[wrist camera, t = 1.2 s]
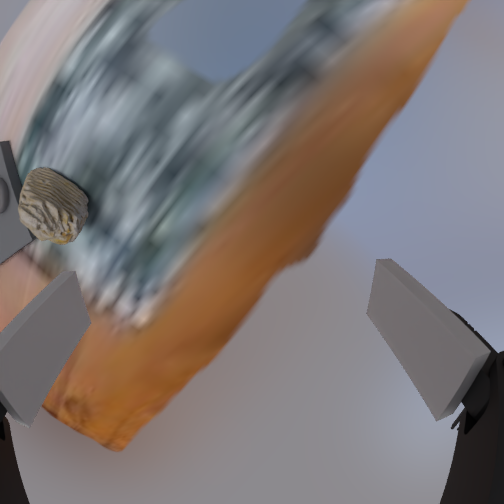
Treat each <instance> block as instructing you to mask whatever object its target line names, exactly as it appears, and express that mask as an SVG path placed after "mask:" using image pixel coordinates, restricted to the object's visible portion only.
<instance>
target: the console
mask: <svg viewBox="0 0 504 504" xmlns="http://www.w3.org/2000/svg"><path fill="white" fill-rule="evenodd" d="M21 190H22V185H21V182H20V179H19V176H18V173H17V169H16V166H15V163H14V159H13V155H12V152H11V148H10V144H9V141H2V142H0V264H1V263H3V262H4V261H5V260H7V259H8V258H9V257H11V256H12V255H13V254H15V253H16V252H17V251H19V250H20V249H22V248H23V247H24V246H26V245H27V244H29V243H30V242H32V241H33V240H34V239H36V238H37V237H36V236H35V235H34V234H33V233H32V232H31V231H30V229H29V228H27V227H26V226H25V225H24V224H23V223H22V222H21V221H20V219H19V218H20V216H19V212H18V207H19V200H20V193H21Z"/></svg>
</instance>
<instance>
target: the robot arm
mask: <svg viewBox="0 0 504 504" xmlns="http://www.w3.org/2000/svg"><path fill="white" fill-rule="evenodd" d="M367 315H368V316H369V318H370V319H371V321H372V322H373V324H374V325H375V326H376V328H377V329H378V331H379V332H380V334H381V335H382V336H383V338H384V339H385V341H386V342H387V344H388V345H389V347H390V348H391V350H392V351H393V353H394V354H395V356H396V357H397V359H398V360H399V361H400V363H401V365H402V366H403V368H404V369H405V371H406V373H407V374H408V376H409V377H410V379H411V380H412V382H413V383H414V385H415V387H416V388H417V390H418V392H419V393H420V394H421V396H422V398H423V400H424V401H425V403H426V404H427V406H428V407H429V409H430V411H431V413H432V414H433V416H434V418H435V419H436V421H438V420H441V419H443V418H445V417H447V416H449V415H451V414H453V413H454V411H455V410H456V409H457V407H458V406H459V404H460V403H461V402H462V403H463V405H464V406H465V408H464V409H463V411H462V412H461V413H460V415H459V416H458V418H457V419H456V420H455V421H454V423H453V424H452V427H451V429H454V427H455V426H456V425H457V424H458V422H460V424H459V427H458V429H457V430H458V436H457V442H456V446H455V451H454V456H453V461H452V464H451V468H450V473H449V476H448V479H447V483H446V486H445V489H444V492H443V496H442V498H441V501H440V504H504V351H502V352H500V353H497V352H496V351H495V350H494V349H493V348H492V347H491V345H490V344H489V343H488V342H487V341H486V340H485V339H484V338H483V337H482V336H481V335H480V334H479V333H478V332H477V331H474V328H473V327H471V325H470V324H468V323H467V321H465V320H464V319H463V318H462V317H461V316H460V315H459V314H457V313H455V312H454V311H452V310H450V309H448V308H447V307H446V306H445V305H444V304H443V303H441V302H440V301H439V300H438V299H437V298H436V297H435V296H434V295H433V294H432V293H430V292H429V291H428V290H427V289H426V288H425V287H424V286H423V285H421V284H420V283H419V282H418V281H417V280H416V279H415V278H413V277H412V276H411V275H410V274H409V273H408V272H406V271H405V270H404V269H403V268H402V267H400V266H399V265H398V264H397V263H396V262H394V261H393V260H392V259H377V260H376V266H375V272H374V278H373V283H372V289H371V294H370V299H369V304H368V309H367ZM90 324H91V320H90V318H89V315H88V312H87V309H86V306H85V302H84V299H83V296H82V293H81V289H80V286H79V282H78V279H77V275H76V271H63V272H62V273H61V274H59V275H58V276H57V277H56V278H55V279H54V280H53V281H52V282H51V283H50V284H48V285H47V286H46V287H45V288H44V289H43V290H42V291H41V292H40V293H39V294H38V295H37V296H36V297H35V298H34V299H33V300H32V301H31V302H30V303H29V304H28V305H27V306H26V307H25V308H24V309H23V310H22V311H21V312H20V313H19V314H18V315H17V316H16V317H15V318H14V319H13V320H12V321H11V322H10V323H9V324H8V325H7V326H6V327H5V329H4V330H3V331H2V332H1V333H0V504H30V503H29V501H28V498H27V495H26V492H25V489H24V486H23V483H22V479H21V476H20V472H19V468H18V464H17V460H16V456H15V452H14V447H13V442H12V436H11V431H10V425H9V422H8V419H7V418H6V417H5V415H6V413H7V411H8V413H9V414H10V415H11V416H12V418H13V419H14V420H15V421H16V422H17V423H19V424H22V425H24V426H26V427H29V428H30V427H31V425H32V423H33V421H34V419H35V417H36V415H37V413H38V411H39V409H40V407H41V405H42V403H43V402H44V400H45V398H46V396H47V394H48V392H49V391H50V389H51V387H52V385H53V384H54V382H55V380H56V378H57V377H58V375H59V373H60V372H61V370H62V368H63V367H64V365H65V363H66V362H67V360H68V358H69V357H70V355H71V353H72V352H73V350H74V349H75V347H76V346H77V344H78V342H79V341H80V339H81V338H82V336H83V335H84V333H85V332H86V330H87V329H88V327H89V326H90Z"/></svg>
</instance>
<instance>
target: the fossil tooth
mask: <svg viewBox="0 0 504 504" xmlns="http://www.w3.org/2000/svg"><path fill="white" fill-rule="evenodd" d="M87 203H88V198H87V196H86V195H85V194H84V192H83V191H82V190H80V189H78V187H77V186H76V185H75V184H73V183H72V182H71V181H69V180H66V179H65V178H63V177H62V176H61V175H60V174H57V173H55V172H54V171H52V170H50V169H49V168H44V167H43V169H42V168H36V169H34V170H32V171H31V172H30V173H28V175H27V177H26V180H25V182H24V185H23V187H22V190H21V193H20V200H19V207H18V212H19V216H20V218H19V219H20V221H21V222H22V223H23V224H24V225H25V226H26V227H27V228H29V229H30V231H31V232H32V233H33V234H34V235H35V236H36V237H37V238H38V239H39V240H41V241H44V240H50V241H52V242H54V243H56V244H60V245H65V244H67V243H68V242H73V241H74V240H75V239H76V238H77V236H78V234H79V233H80V231H81V230H82V226H83V225H84V224H85V221H86V218H87V217H88V211H87V208H88V207H87Z"/></svg>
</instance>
